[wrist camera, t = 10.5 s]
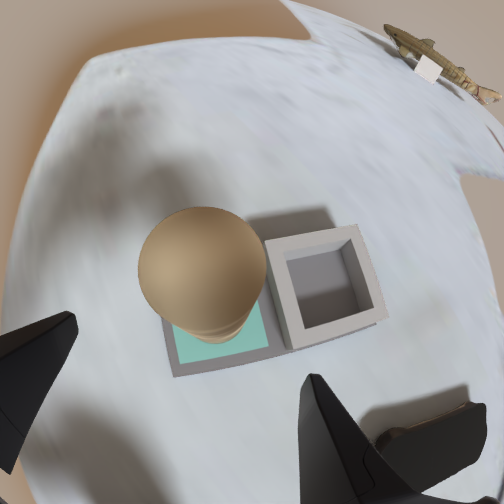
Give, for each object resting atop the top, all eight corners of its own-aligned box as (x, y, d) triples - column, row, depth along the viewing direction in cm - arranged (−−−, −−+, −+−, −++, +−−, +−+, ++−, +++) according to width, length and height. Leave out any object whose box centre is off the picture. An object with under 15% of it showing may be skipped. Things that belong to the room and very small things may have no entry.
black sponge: (359, 498, 16) (375, 512, 13) (368, 431, 19) (389, 439, 16) (464, 454, 18) (483, 457, 14) (472, 396, 21) (493, 396, 17)
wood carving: (482, 129, 42) (504, 102, 32) (370, 47, 48) (383, 14, 38) (481, 117, 45) (500, 92, 35) (380, 43, 51) (392, 13, 41)
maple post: (201, 354, 20) (168, 352, 9) (174, 298, 21) (122, 237, 10) (257, 326, 21) (290, 291, 10) (228, 273, 23) (230, 189, 12)
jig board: (175, 376, 20) (166, 380, 17) (157, 272, 23) (146, 259, 20) (371, 325, 23) (391, 320, 20) (342, 237, 26) (356, 220, 23)
